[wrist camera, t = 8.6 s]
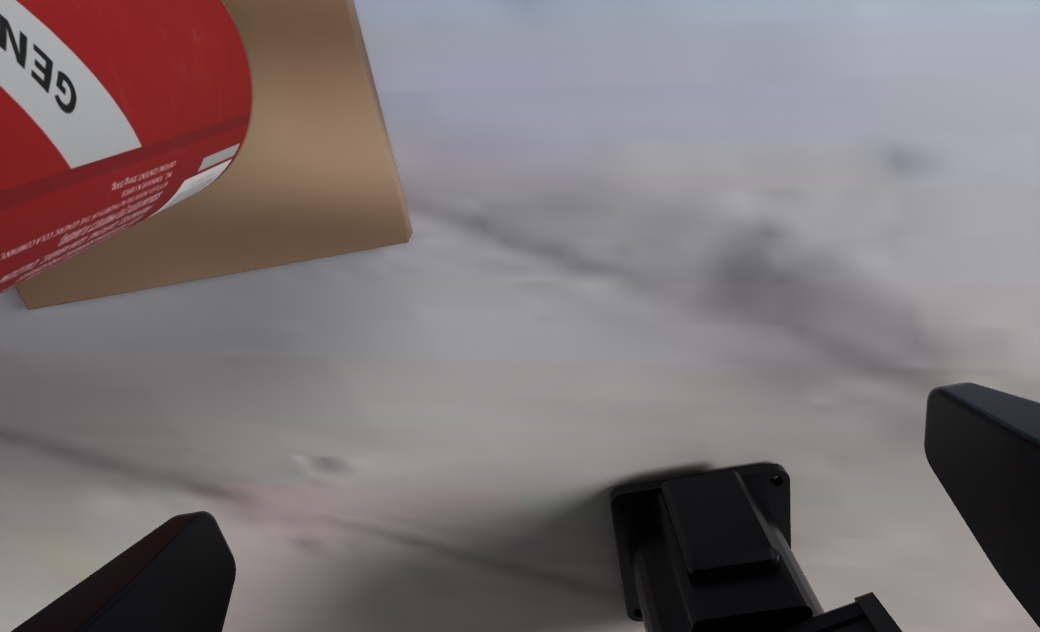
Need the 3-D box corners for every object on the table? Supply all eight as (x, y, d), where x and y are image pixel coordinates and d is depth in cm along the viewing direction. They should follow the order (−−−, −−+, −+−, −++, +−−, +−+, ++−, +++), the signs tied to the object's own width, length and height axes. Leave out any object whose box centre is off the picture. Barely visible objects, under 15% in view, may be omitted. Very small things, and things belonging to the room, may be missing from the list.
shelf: (412, 232, 20) (390, 277, 17) (49, 297, 21) (-50, 354, 17) (261, -361, 15) (178, -490, 11) (-228, -244, 15) (-460, -329, 12)
